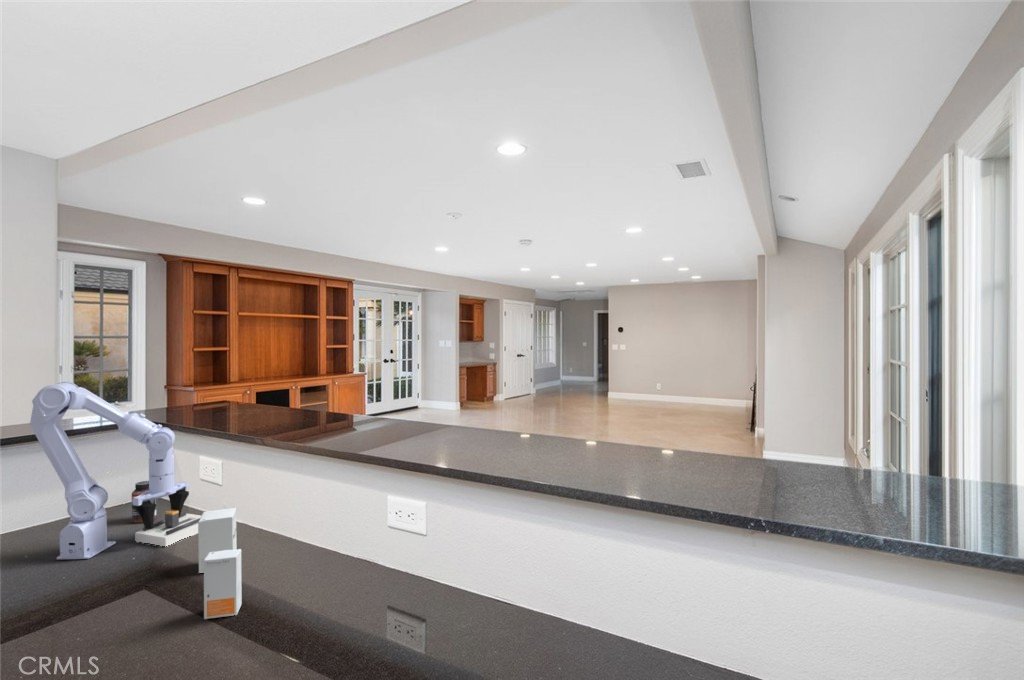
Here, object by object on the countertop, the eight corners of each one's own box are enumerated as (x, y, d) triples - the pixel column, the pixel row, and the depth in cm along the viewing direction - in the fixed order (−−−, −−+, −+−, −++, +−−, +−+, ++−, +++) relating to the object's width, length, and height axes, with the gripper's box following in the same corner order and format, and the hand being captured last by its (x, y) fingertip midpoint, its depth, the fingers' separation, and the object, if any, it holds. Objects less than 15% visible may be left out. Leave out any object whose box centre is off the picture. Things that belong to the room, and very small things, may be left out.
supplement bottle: (161, 516, 156) (160, 479, 156) (145, 524, 150) (144, 485, 150) (143, 515, 157) (142, 479, 157) (126, 523, 151) (126, 485, 151)
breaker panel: (165, 547, 134) (165, 534, 134) (135, 541, 138) (135, 529, 138) (214, 526, 149) (214, 514, 149) (186, 521, 152) (185, 510, 152)
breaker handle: (172, 527, 141) (172, 512, 141) (164, 526, 142) (164, 511, 142) (179, 525, 142) (178, 510, 142) (171, 523, 143) (170, 509, 143)
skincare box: (203, 620, 101) (202, 560, 100) (210, 609, 105) (209, 551, 105) (237, 615, 102) (236, 556, 102) (242, 604, 107) (241, 547, 106)
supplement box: (233, 569, 122) (232, 517, 122) (197, 575, 119) (196, 521, 119) (237, 556, 129) (236, 506, 129) (203, 561, 126) (202, 510, 126)
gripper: (146, 482, 131) (147, 535, 131) (196, 467, 145) (197, 515, 145) (126, 480, 133) (127, 532, 133) (178, 465, 147) (178, 512, 147)
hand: (162, 523), depth 139 cm, fingers open, 7 cm apart
